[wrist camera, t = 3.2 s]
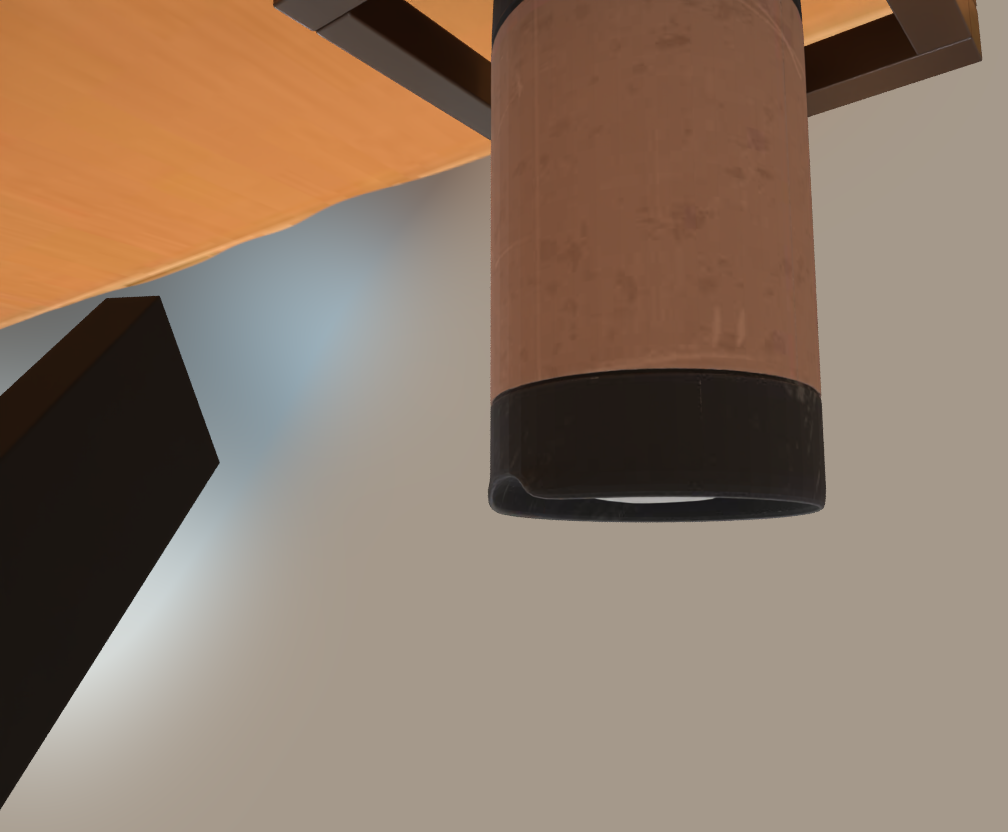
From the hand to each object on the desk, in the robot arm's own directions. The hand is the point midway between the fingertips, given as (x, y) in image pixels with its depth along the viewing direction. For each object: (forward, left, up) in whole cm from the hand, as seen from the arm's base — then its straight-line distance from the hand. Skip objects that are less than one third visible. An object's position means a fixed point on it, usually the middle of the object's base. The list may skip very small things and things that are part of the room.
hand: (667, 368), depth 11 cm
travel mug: (-5, -8, -19) cm, 21 cm away
